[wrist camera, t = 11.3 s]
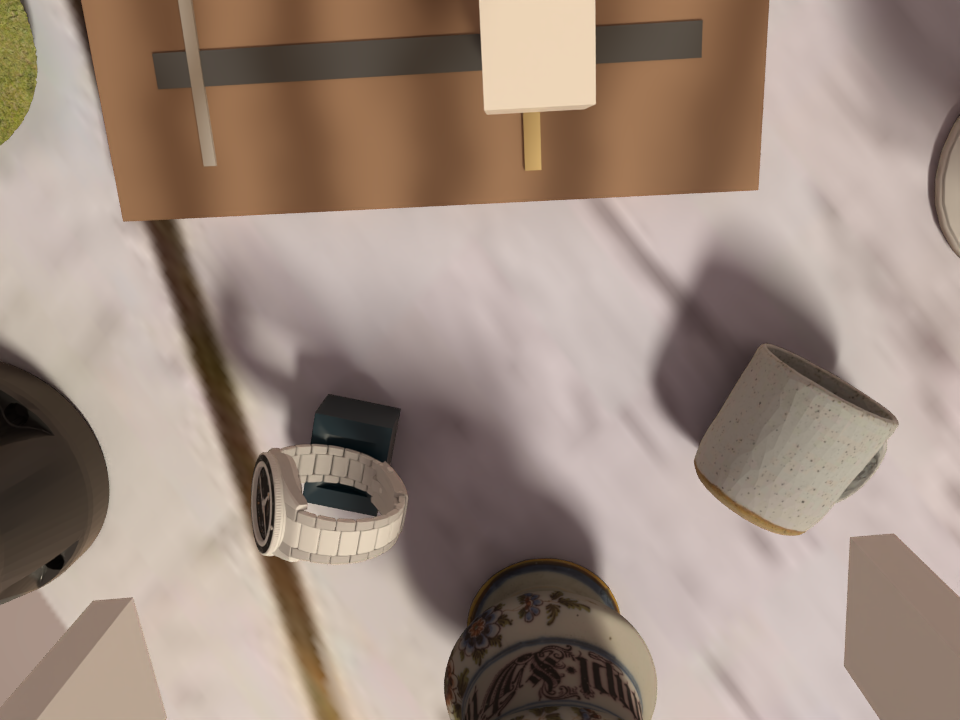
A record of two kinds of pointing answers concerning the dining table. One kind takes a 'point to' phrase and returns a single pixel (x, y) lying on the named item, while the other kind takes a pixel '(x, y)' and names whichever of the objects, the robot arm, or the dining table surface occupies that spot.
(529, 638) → the apothecary jar
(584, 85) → the fader knob
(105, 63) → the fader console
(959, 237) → the chalice
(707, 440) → the ceramic mug
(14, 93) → the mat
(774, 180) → the dining table surface
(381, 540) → the watch
